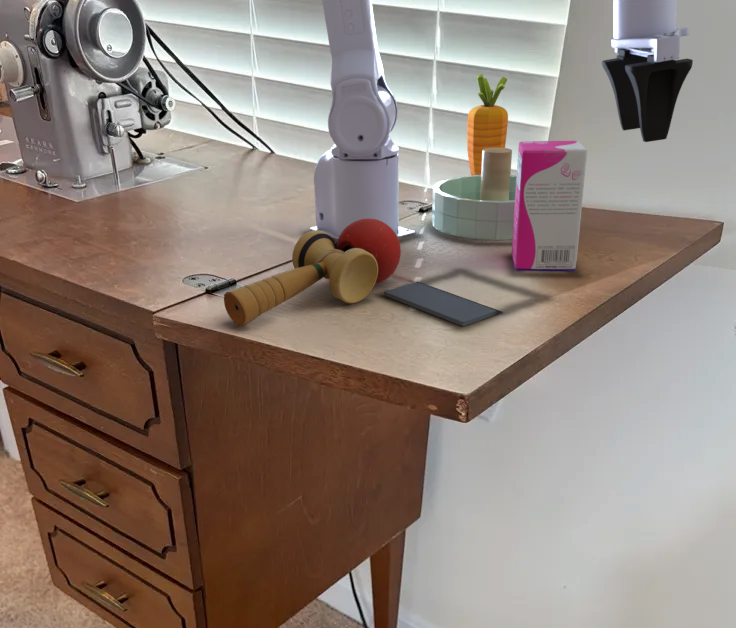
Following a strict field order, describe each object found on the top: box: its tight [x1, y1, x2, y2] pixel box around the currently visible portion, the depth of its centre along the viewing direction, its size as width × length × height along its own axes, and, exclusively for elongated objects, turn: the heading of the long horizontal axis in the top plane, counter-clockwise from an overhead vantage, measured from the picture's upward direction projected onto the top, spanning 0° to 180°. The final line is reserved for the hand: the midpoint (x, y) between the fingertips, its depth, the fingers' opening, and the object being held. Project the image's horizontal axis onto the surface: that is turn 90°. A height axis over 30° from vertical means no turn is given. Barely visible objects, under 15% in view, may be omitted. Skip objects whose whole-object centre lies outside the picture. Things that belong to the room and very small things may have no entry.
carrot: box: [466, 73, 509, 175], centre depth 98 cm, size 5×5×15 cm
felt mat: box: [383, 281, 503, 327], centre depth 70 cm, size 10×10×1 cm
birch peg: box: [480, 147, 513, 201], centre depth 88 cm, size 3×3×8 cm
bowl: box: [431, 174, 517, 241], centre depth 89 cm, size 14×14×4 cm
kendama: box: [223, 219, 402, 327], centre depth 69 cm, size 8×6×18 cm
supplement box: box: [511, 140, 588, 272], centre depth 75 cm, size 6×6×12 cm
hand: (643, 134), depth 80 cm, fingers open, 7 cm apart
